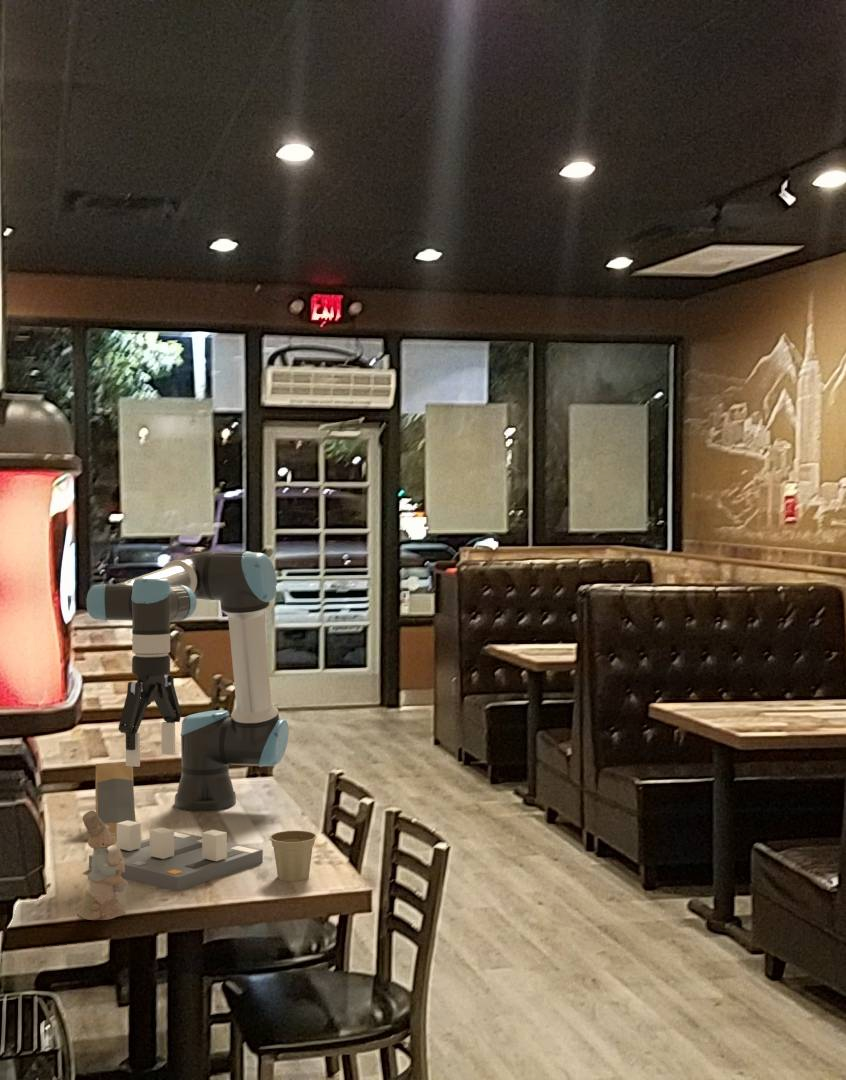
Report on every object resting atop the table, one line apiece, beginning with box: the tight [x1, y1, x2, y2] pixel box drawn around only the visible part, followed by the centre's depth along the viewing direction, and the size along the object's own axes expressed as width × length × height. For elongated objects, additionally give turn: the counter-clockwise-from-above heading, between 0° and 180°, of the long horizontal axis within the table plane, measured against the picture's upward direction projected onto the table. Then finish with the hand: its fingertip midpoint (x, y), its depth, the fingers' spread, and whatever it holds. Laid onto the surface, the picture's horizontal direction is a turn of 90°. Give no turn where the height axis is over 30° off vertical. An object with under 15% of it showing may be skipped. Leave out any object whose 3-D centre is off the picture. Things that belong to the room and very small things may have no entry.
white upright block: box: [201, 829, 228, 861], centre depth 256 cm, size 3×4×5 cm
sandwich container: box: [94, 761, 137, 842], centre depth 288 cm, size 9×15×15 cm, turn 17°
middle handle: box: [149, 827, 175, 859], centre depth 258 cm, size 3×4×5 cm
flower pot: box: [269, 829, 318, 882], centre depth 253 cm, size 9×9×9 cm
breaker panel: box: [88, 830, 264, 892], centre depth 261 cm, size 24×26×3 cm
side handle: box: [116, 820, 142, 851], centre depth 264 cm, size 3×4×5 cm
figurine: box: [77, 810, 129, 921], centre depth 230 cm, size 9×8×20 cm
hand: (151, 760), depth 254 cm, fingers open, 13 cm apart
